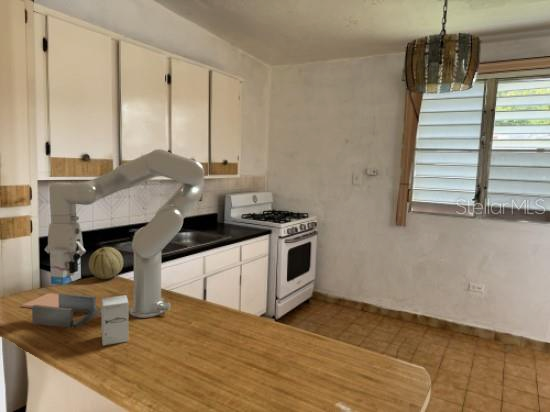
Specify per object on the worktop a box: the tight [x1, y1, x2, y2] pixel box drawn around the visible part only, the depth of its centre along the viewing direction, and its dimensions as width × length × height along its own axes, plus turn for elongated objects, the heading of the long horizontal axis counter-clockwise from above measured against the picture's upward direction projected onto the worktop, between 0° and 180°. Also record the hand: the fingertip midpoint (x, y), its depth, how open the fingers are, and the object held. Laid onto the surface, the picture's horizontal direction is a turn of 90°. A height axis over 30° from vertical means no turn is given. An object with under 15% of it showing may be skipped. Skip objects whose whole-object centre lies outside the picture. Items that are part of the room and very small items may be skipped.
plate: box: [21, 292, 59, 309], centre depth 140 cm, size 13×13×1 cm
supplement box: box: [100, 294, 130, 347], centre depth 113 cm, size 7×7×13 cm
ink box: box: [49, 248, 82, 286], centre depth 125 cm, size 9×5×12 cm, turn 168°
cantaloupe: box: [88, 246, 124, 280], centre depth 171 cm, size 15×15×15 cm
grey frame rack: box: [31, 292, 101, 329], centre depth 127 cm, size 16×13×6 cm
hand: (66, 271), depth 125 cm, fingers closed on ink box, 5 cm apart
